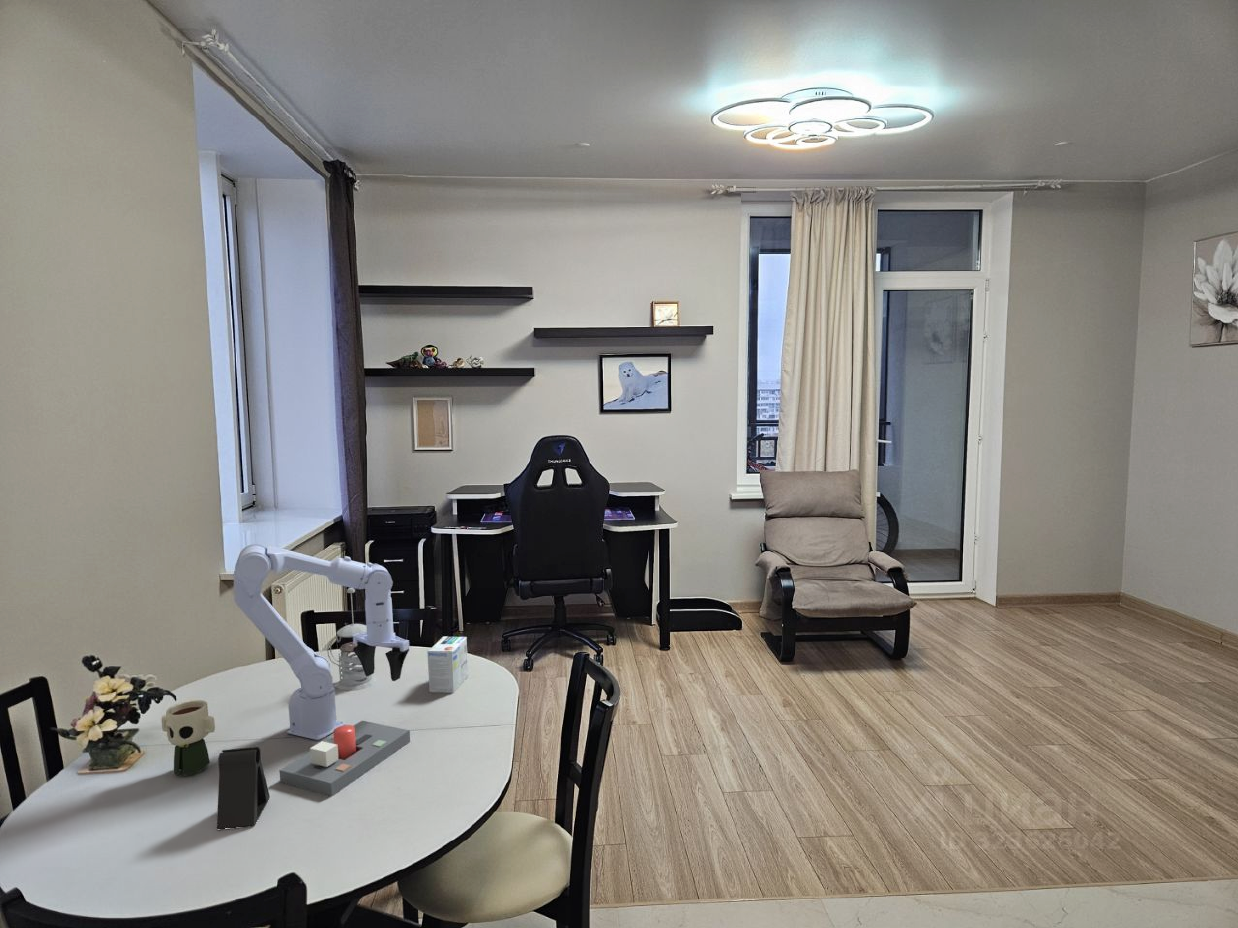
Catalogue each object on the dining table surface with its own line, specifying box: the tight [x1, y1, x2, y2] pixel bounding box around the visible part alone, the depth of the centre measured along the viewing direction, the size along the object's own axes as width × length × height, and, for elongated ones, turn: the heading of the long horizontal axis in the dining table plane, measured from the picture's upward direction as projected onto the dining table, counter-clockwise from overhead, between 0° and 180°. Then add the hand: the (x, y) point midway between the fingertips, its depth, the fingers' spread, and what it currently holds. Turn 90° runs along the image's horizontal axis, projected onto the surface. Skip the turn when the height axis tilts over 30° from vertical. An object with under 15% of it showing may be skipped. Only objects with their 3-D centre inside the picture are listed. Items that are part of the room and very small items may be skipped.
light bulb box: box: [427, 636, 469, 694], centre depth 182 cm, size 11×7×11 cm, turn 172°
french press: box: [326, 587, 378, 691], centre depth 183 cm, size 10×12×25 cm
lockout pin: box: [332, 724, 356, 760], centre depth 144 cm, size 4×4×7 cm
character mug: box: [161, 699, 216, 776], centre depth 142 cm, size 11×7×13 cm, turn 85°
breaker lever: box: [309, 740, 338, 767], centre depth 139 cm, size 4×3×3 cm
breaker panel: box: [279, 720, 411, 797], centre depth 145 cm, size 13×22×3 cm, turn 157°
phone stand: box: [216, 746, 271, 830], centre depth 127 cm, size 9×6×12 cm, turn 10°
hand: (382, 676), depth 164 cm, fingers open, 7 cm apart
